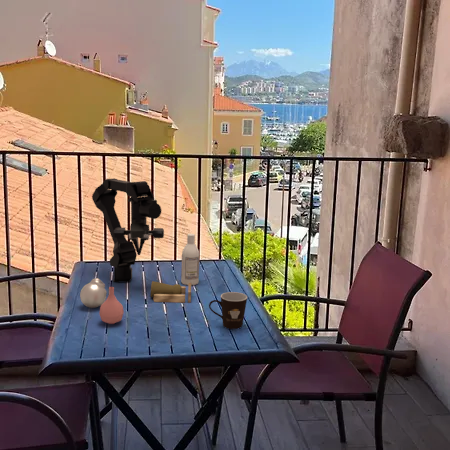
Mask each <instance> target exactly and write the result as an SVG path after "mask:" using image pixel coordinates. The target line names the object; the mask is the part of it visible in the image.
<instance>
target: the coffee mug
mask: <svg viewBox="0 0 450 450" xmlns="http://www.w3.org/2000/svg"><path fill="white" fill-rule="evenodd" d="M247 301H248V295H246V294H245V293H242V292H237V291H236V292H235V291H230V292H223V293H221V295H220V300H218V299H214V300H211V301H210V302H209V303H208V308H209V309H210V311H211V312H212V313H213V314H214V315H216V316H218V317H220V318H221V319H222V326H223V328H225V327H226V328H225V329H228V328H229V329H228V330H239V329H241V328H243V326H244V325H243V324H244V319H245V313H246V308H247V307H246V306H247ZM213 303H218V304H219V306H220V307H221V314H219V313H218V312H216V311H215V310H214V309H212V307H211V305H212V304H213ZM240 327H241V328H240ZM238 328H239V329H238Z"/></svg>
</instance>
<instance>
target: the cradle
mask: <svg viewBox="0 0 450 450" xmlns="http://www.w3.org/2000/svg"><path fill="white" fill-rule="evenodd" d="M180 286H181V288H182V293H181V294H154V296H153V297H152V300H153V303H186V292H187V303H188V304H190V303H192V285H191V283H189V284H188V285H184V286H182V285H180ZM186 286H188V287H186ZM186 289H188V290H187V291H186Z"/></svg>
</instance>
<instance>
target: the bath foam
mask: <svg viewBox="0 0 450 450" xmlns="http://www.w3.org/2000/svg"><path fill="white" fill-rule="evenodd" d="M195 237H196V234H194V233H187V239H186V245H184V247H183V249H182V252H181V271H180V272H181V278H180V279H181V280H180V281H181V284H182V285H184V286H188V284H189V283H191V286H195V285H198V284H199V277H200V251H199V249H198V247H197V244H195V242H196V238H195Z"/></svg>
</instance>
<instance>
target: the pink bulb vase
mask: <svg viewBox="0 0 450 450" xmlns="http://www.w3.org/2000/svg"><path fill="white" fill-rule="evenodd" d="M124 313H125V312H124V306H123V304H122V303H121V302H120V301H119V300H118V299H117V297H116V295H115V287H114V286H109V287H108V295H107V297H106V299H105V301H104V303H103V304H102V305H101V306H99V314H98V315H99V317H100V320H101V321H102V322H103V323H106V324H108V325H114V324H115V323H119V322H121V321H122V319H123V317H124Z"/></svg>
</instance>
